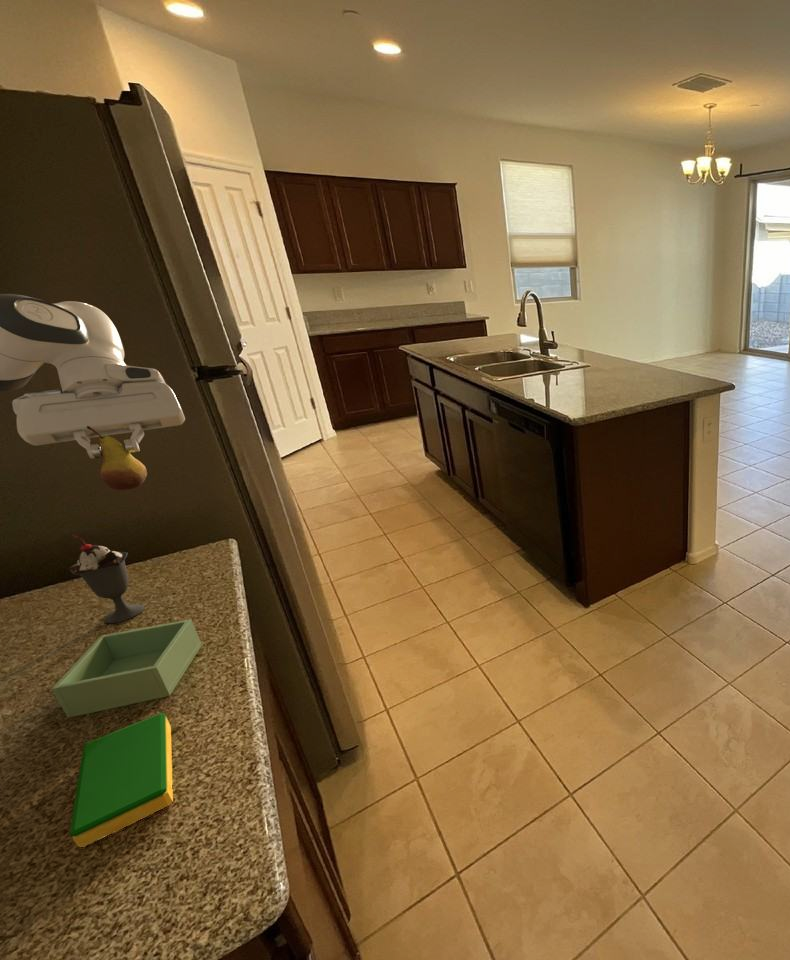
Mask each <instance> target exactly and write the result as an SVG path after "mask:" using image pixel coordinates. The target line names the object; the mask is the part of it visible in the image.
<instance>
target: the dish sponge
mask: <svg viewBox="0 0 790 960" xmlns="http://www.w3.org/2000/svg"><path fill="white" fill-rule="evenodd" d="M172 754H173V753H172V726H171V723H170V722H169V719H168V717H167V716H166V713H165V712H159V713H157V714H155V715H152V716H150V717H148V718H145V719H142V720H140V721H138V722H135V723H132V724H130V725H127V726H125V727H123V728H120V729H118V730H115V731H114V732H110V733H108V734H105V735H103V736H101V737H98V738H95V739H93V740H91V741H88V742H87V743H85V744H84V745H83V746H82V753H81V759H80V765H79V772H78V777H77V778H78V779H77V785H76V791H75V797H74V802H73V810H72V817H71V823H70V824H71V825H70V830H69V835H70V837H72V840H73V841H74V842H75V844H76V845H77V847H78V846H79V847H82V846H83V847H84V846H86V845H88V844H89V843H92V842H93V841H95V840H97V839H99V838H101V837H103V836H105V835H108V834H111V833H113V832H114V831H117V830H119V829H121V828H123V827H126V826H129V825H131V824H132V823H135V822H136V821H138V820H140V819H141V818H144V817H146V816H148V815H150V814H153V813H154V812H156V811H158V810H159V809H162V808H164V807H167V806H169V805H170V804H171V803H172V802H173V803H174V790H173V789H172V785H173V757H172V756H173V755H172ZM173 803H172V804H173ZM172 804H171V805H172ZM171 805H170V806H171ZM170 806H169V807H170ZM167 808H168V807H167ZM153 815H154V814H153ZM135 824H136V823H135ZM131 826H132V825H131ZM129 827H130V826H129ZM79 847H78V848H79Z"/></svg>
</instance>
